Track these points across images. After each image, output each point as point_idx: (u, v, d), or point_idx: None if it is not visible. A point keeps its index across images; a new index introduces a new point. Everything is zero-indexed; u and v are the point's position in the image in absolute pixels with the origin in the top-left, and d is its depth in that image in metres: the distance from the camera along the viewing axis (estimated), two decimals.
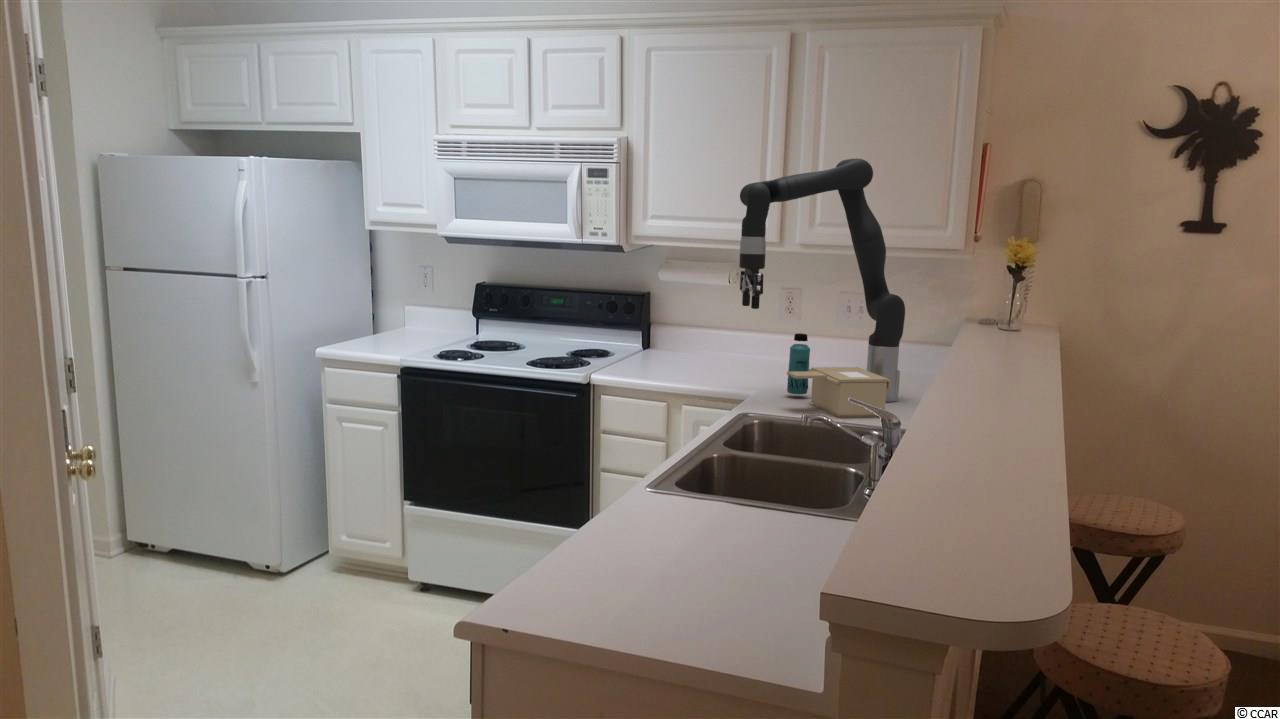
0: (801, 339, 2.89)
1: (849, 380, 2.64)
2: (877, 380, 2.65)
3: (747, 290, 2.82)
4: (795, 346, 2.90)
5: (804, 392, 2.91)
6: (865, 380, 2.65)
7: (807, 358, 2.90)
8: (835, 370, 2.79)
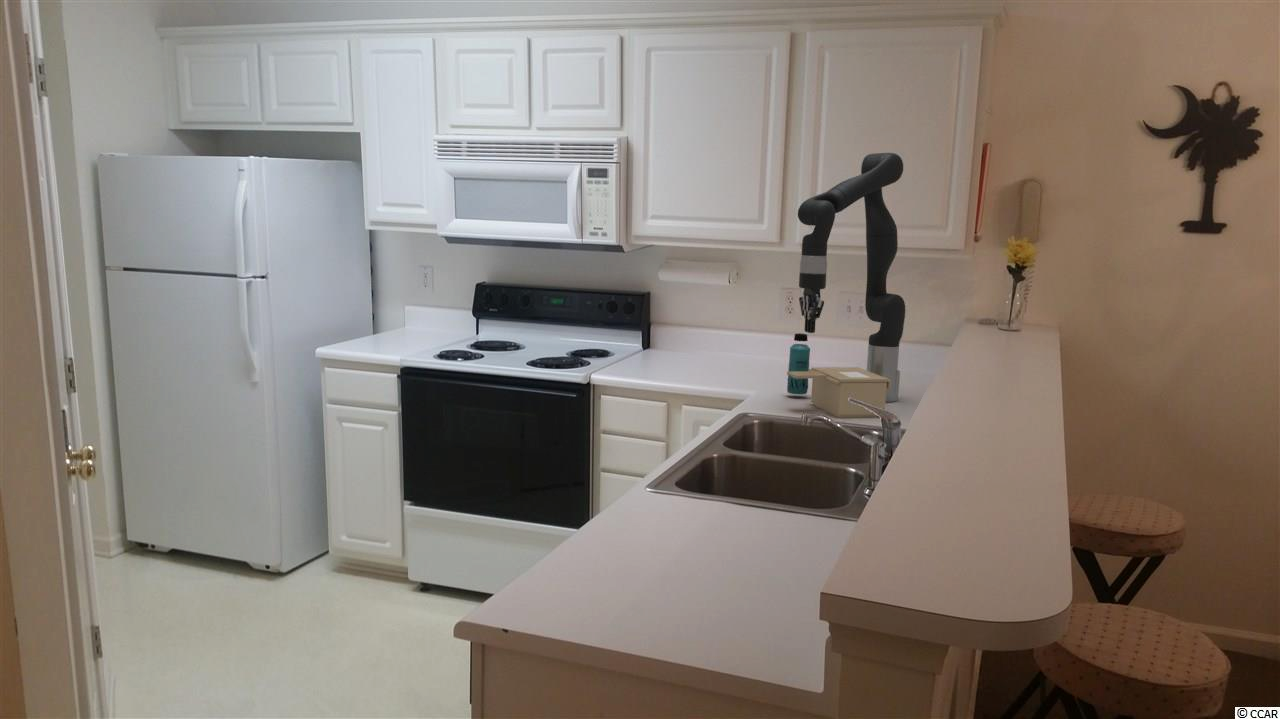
0: (801, 339, 2.89)
1: (849, 380, 2.64)
2: (877, 380, 2.65)
3: None
4: (795, 346, 2.90)
5: (804, 392, 2.91)
6: (865, 380, 2.65)
7: (807, 358, 2.90)
8: (835, 370, 2.79)
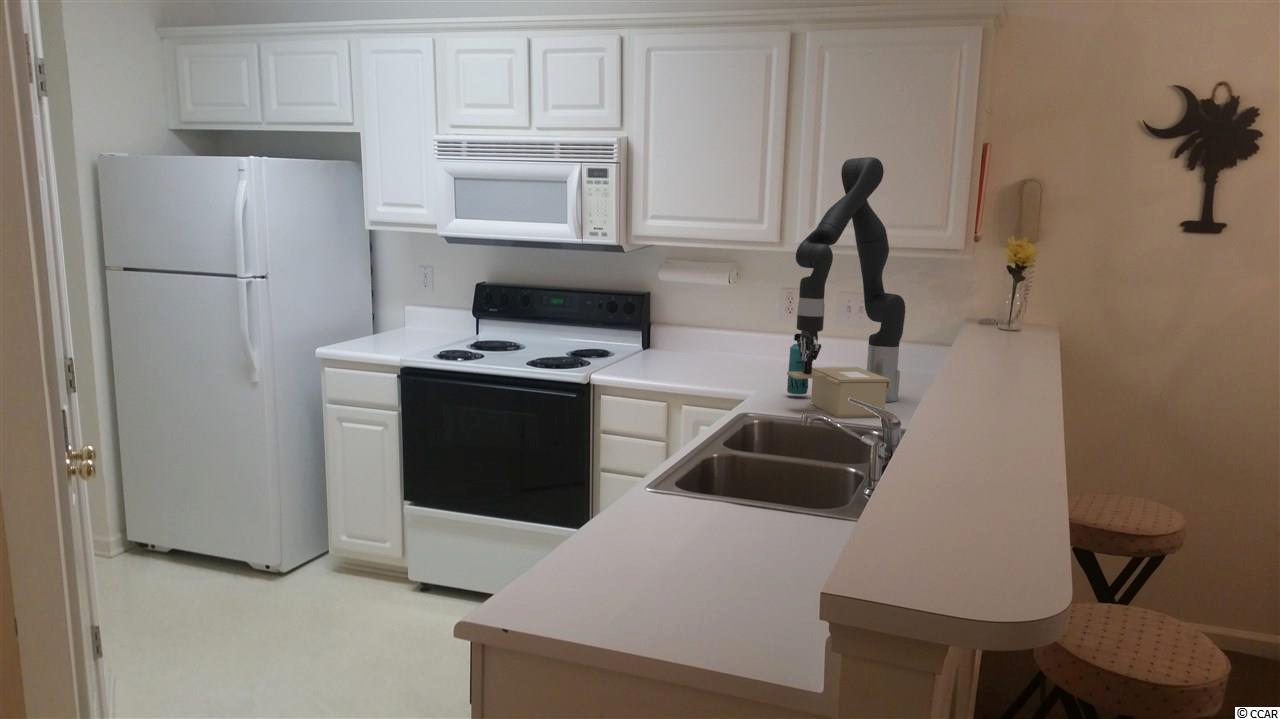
0: None
1: (849, 380, 2.64)
2: (877, 380, 2.65)
3: None
4: (795, 346, 2.90)
5: (804, 392, 2.91)
6: (865, 380, 2.65)
7: None
8: (835, 370, 2.79)
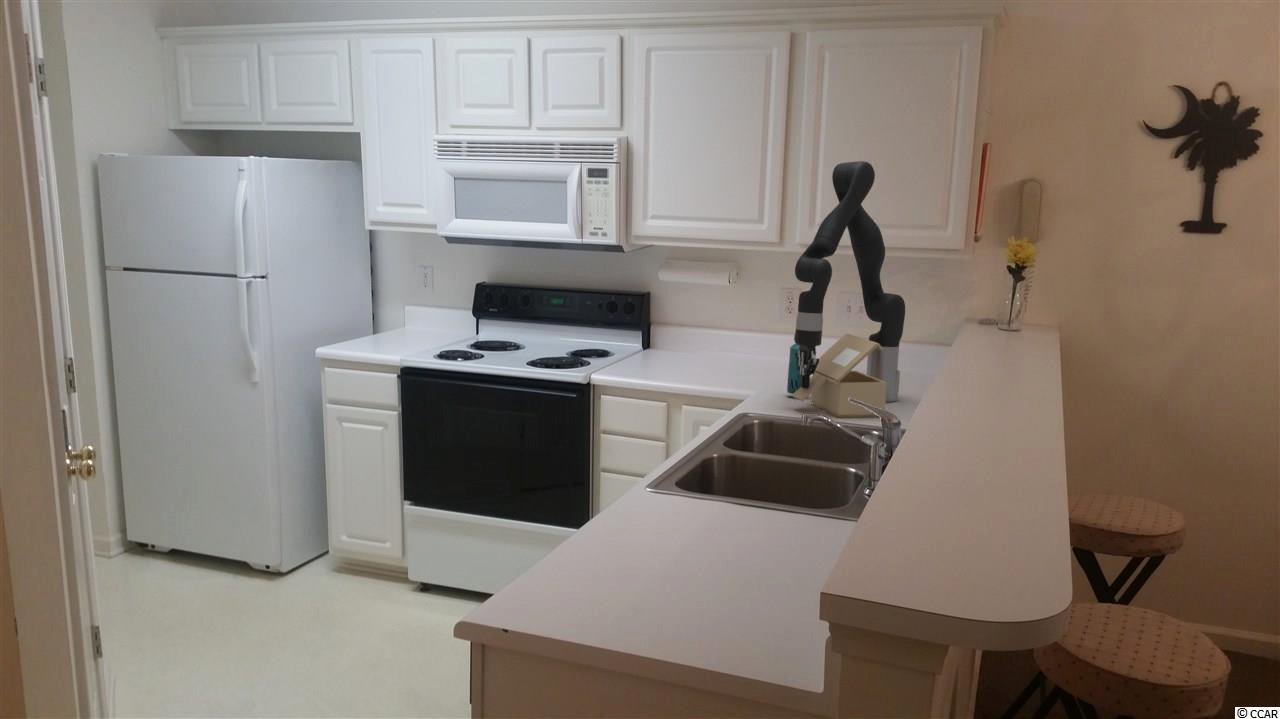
0: None
1: (845, 373, 2.63)
2: (867, 353, 2.64)
3: None
4: (795, 346, 2.90)
5: None
6: (858, 361, 2.63)
7: None
8: (829, 358, 2.78)
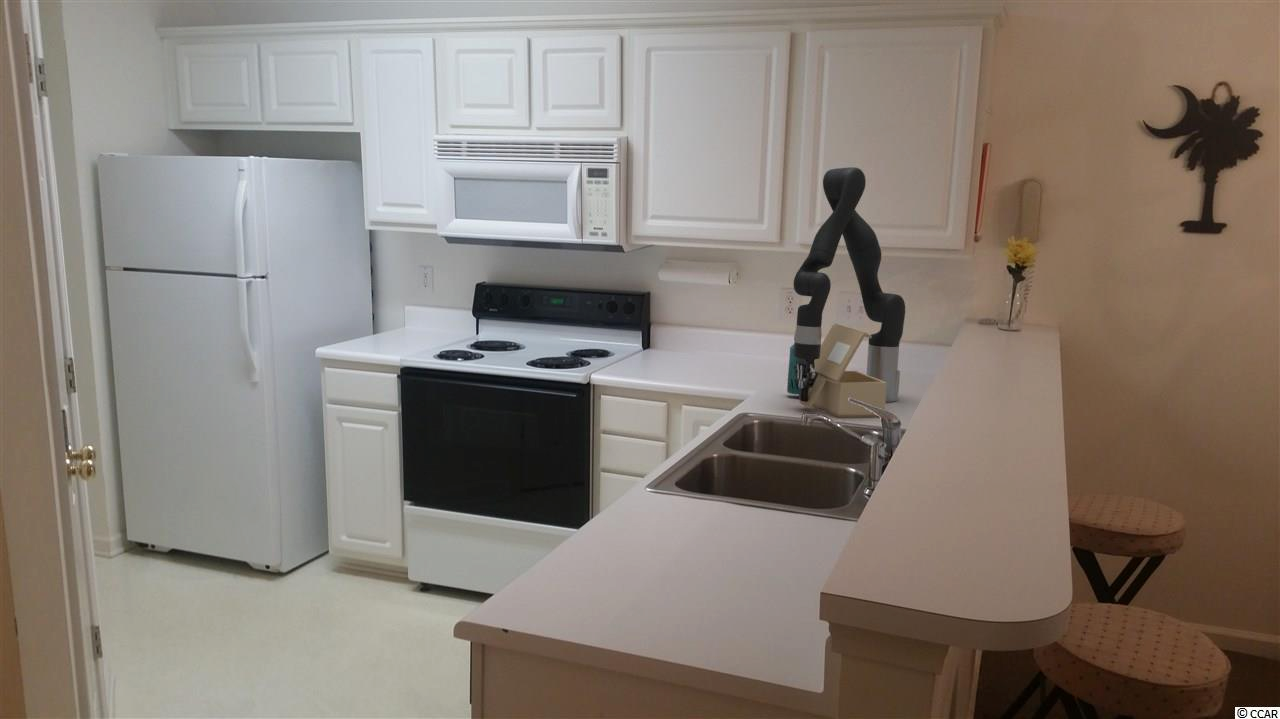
0: None
1: (842, 371, 2.63)
2: (857, 345, 2.63)
3: None
4: None
5: None
6: (851, 356, 2.63)
7: None
8: (824, 355, 2.77)
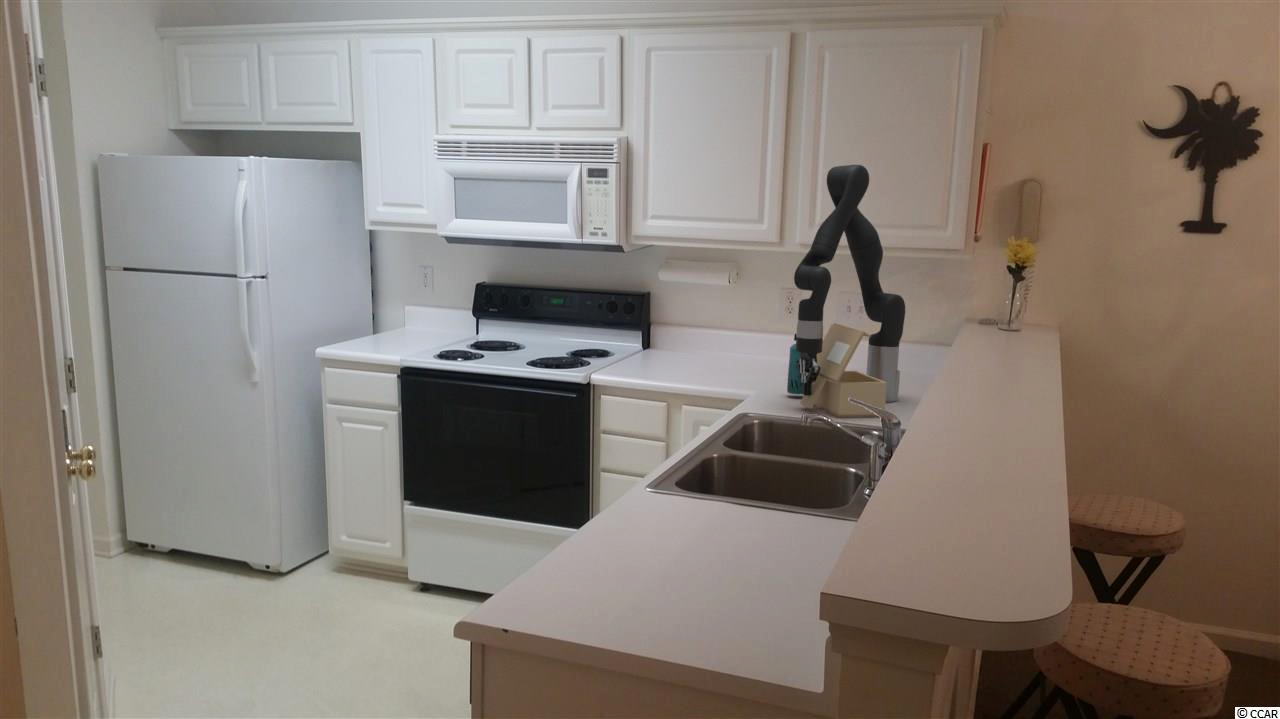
0: None
1: (841, 371, 2.63)
2: (856, 344, 2.62)
3: None
4: (795, 346, 2.90)
5: None
6: (850, 356, 2.63)
7: None
8: (823, 355, 2.77)
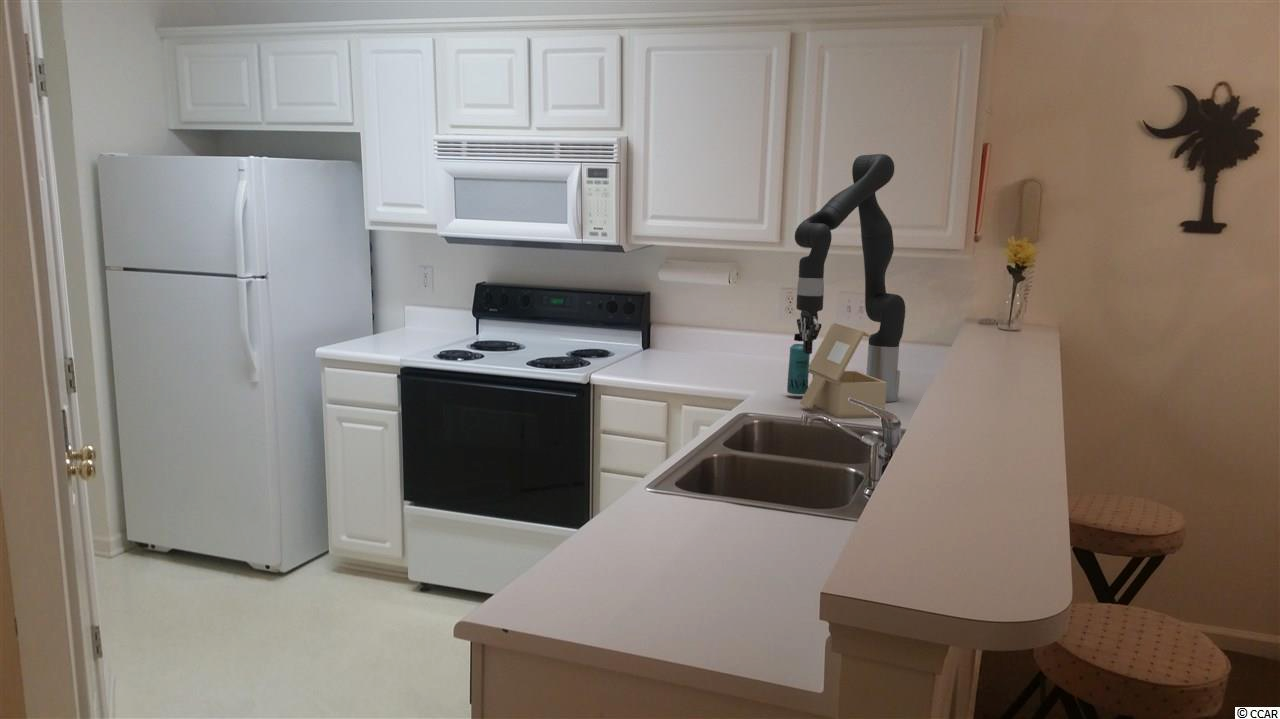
0: (801, 339, 2.89)
1: (841, 371, 2.63)
2: (856, 344, 2.62)
3: None
4: (795, 346, 2.90)
5: (804, 392, 2.91)
6: (850, 356, 2.63)
7: (807, 358, 2.90)
8: (823, 355, 2.77)
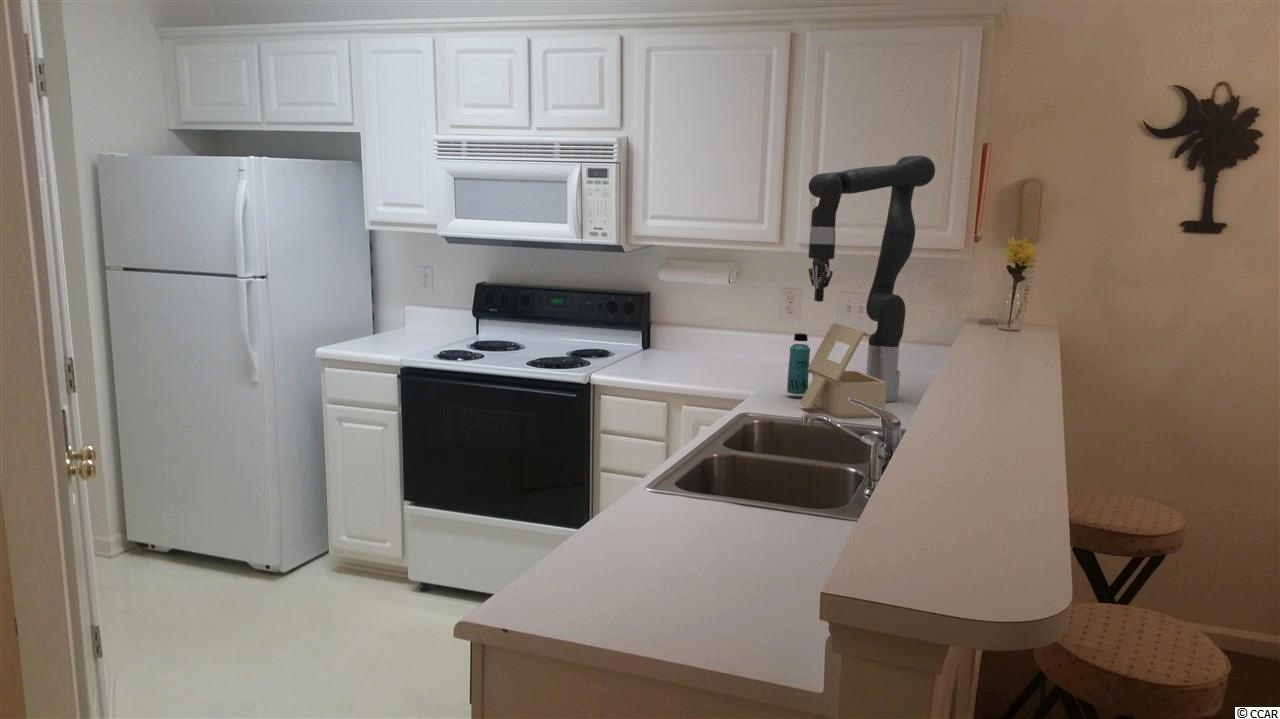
0: (801, 339, 2.89)
1: (841, 371, 2.63)
2: (856, 344, 2.62)
3: None
4: (795, 346, 2.90)
5: (804, 392, 2.91)
6: (850, 356, 2.63)
7: (807, 358, 2.90)
8: (823, 355, 2.77)
